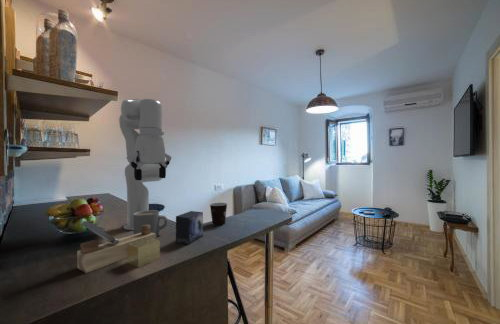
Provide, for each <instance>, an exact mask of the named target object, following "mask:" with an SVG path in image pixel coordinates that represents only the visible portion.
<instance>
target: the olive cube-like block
mask: <svg viewBox="0 0 500 324" xmlns="http://www.w3.org/2000/svg"><path fill="white" fill-rule="evenodd" d="M160 242H161V241H160V240H159V239H157V238H156V239H153V238H150V237H148V238H145V239H142V240H139V241H135V242H132V243H129V244H127V257H128V258H127V264H128V265H131V266H133V267H135V268H141V267H144V266H145V265H148V264H150V263H153V262H155V261H158V260H160V259H161V243H160Z"/></svg>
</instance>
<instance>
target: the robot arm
mask: <svg viewBox="0 0 500 324" xmlns="http://www.w3.org/2000/svg"><path fill="white" fill-rule="evenodd" d="M162 111H163V109H162V103H161V102H160V101H159V100H156V99H152V98H143V99H140V98H134V99H124V100H123V101H122V103H121V106H120V113H121V114H120V115H119V118H118V121H119V128H120V131H121V133H122V135H123V138H124V140H125V149H126V157H125V159H126V161H127V162H128V163H129V164H127V165H126V166H125V168H124V177H125V182H126V183H125V184H126V205H127V209H126V211H127V212H126V213H127V215H126V217H127V218H125V221H126V222H127V223H126V224H125V225H123V230H127V231H134V225H133V214H134V213H136V212H140V211H147V210H149V209H150V207H149V205H150V204H149V203H150V202H149V201H150V200H149V199H150V198H149V196H150V195H149V189H148V188H147V186H146V185H145V184H144V183H149V182H159V181H161V180H162V179H166V176H167V175H166V174H167V173H166V172H167V168H168V166H169V164H171V163H170V162H171V160H172V156H170V155H169V154H167V153H166V148H165V142H164V138H163V137H162V136H164V135H165V131H162V118H163V112H162ZM136 130H139V132H138V131H136Z"/></svg>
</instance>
